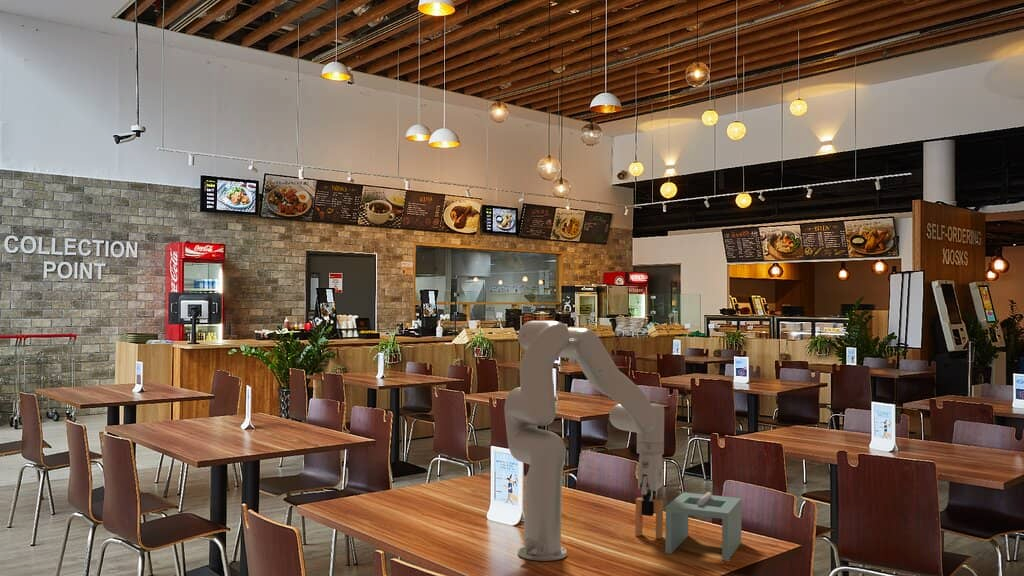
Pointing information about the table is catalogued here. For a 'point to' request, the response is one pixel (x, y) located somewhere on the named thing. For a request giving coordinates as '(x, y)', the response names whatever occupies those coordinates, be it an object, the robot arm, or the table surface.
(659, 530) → the wooden arch bridge
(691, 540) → the table surface
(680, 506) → the shelf
